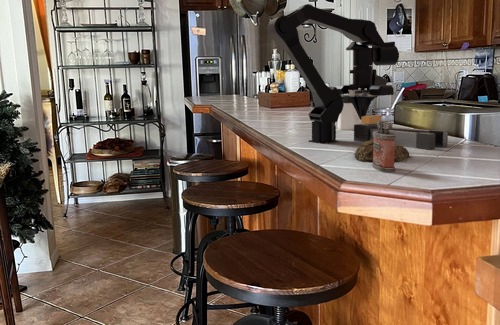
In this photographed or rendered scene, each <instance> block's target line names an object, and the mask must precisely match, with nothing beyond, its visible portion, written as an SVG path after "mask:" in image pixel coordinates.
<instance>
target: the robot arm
mask: <svg viewBox="0 0 500 325" xmlns="http://www.w3.org/2000/svg"><path fill="white" fill-rule="evenodd" d="M306 22H309V23H311V24H314V25H317V26H320V27H324V28H326V29H329V30H332V31H335V32H338V33H340V34H342V35H343V36H344V37H346V38H347V39H349V40H350V41H352V42H351V43H350V44H349V45H348V46H347V47H346V48H345V50H346V51H352V69H350V70H349V74H352V84H351V83H350V84H341V85H335V86H328V85H327V84H326V82H325V81H324V79H323V78H322V76H321V74H320V72H319V71H318V70H317V68H316V67H315V65H314V63H313V62H312V59H311V58H310V57H309V55H308V53H307V52H306V50H305V49H304V46H302V43H301V41H300V38H299V37H300V35H299V31H298V27H300V26H301V25H303V24H304V23H306ZM266 31H267V34H268V36H269V37H270V38H271V39H272V41H274V43H275V44H277V45H278V46H279V47H280V48H281V49H282V50H284V51H285V52H286V54H287V55H288V57H289V58H290V60H291V61H292V64H294V65H293V66H295V68H296V69H297V71H298V73H299V74H300V76H301V77H302V79H303V80H304V82H305V84H306V85H307V87H308V89H309V90H310V91H311V95H312V101H313V104H314V107H313V108H312V110H310V112H309V113H308V118H309V120H310V121H311V139H309V140H308V141H307V142H309V143H312V144H313V143H315V144H322V145H324V144H332V143H339V142H340V141H339V140H338V139H336V138H337V135H336V134H337V126H336V123H338V118H339V115H340V113H341V112H342V110H343V106H344V103H343V101H342V99H343V97H342V96H341V95H349V96H347V98H349V99H350V101H351V102H352V104H353V106H354V108H355V110H356V112H357V114H358V116H359V118H360V120H362V116H367V113H368V111H369V107H370V106H371V103H372V102H373V101H374V100H375V99H376V98H377V99H378V97H381V96H382V97H383V96H394V92H395V90H394V87H393V85H392V84H387V83H388V79H386V78H385V77H382V76H381V75H378V74H377V70H376V69H375V68H374V66H377V67H378V66H380V67H381V66H395V65H397V63H398V62H399V58H400V51H399V49H398V47H397V46H396V42H395V41H387V42H384V39H383V38H382V36H381V35H380V33H379V31H378V29H377V26H376V23H375V22H374V21H372V20H368V19H359V18H349V17H346V16H342V15H339V14H336V13H334V12H331V11H327V10H326V9H325V10H324V9H322V8H319V7H316V6H313V4H310V3H307V4H303V5H301V6H299V7H298V8H297V9H296V10H294V11H292V12H290V13H288V14H286V15H281V16H278V17H275V18H272V19H271V20H269V22H268V24H267V28H266ZM358 43H359V44H358Z"/></svg>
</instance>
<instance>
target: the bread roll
mask: <svg viewBox="0 0 500 325" xmlns="http://www.w3.org/2000/svg"><path fill="white" fill-rule="evenodd" d="M373 151H374V140H369V141H366V142H361V144H360V145H359V146H358V147H357V148H356V150H355V152H354V153H353V155H354V158H355V160H356V161H358V162H366V161H371V162H373ZM410 155H411V154H410V152H409V150H408V149H407V147H404V146H402V145H397V144H395V150H394V163H399V162H400V161H401V162H403V161H406V160H407V159H409V158H411V156H410Z"/></svg>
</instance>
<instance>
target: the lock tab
mask: <svg viewBox="0 0 500 325" xmlns="http://www.w3.org/2000/svg"><path fill="white" fill-rule="evenodd" d="M379 121H382V115H377V114H376V115H374V114H371V115H366V116H362V122H361V123H362V124H373V123H377V122H379Z"/></svg>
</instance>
